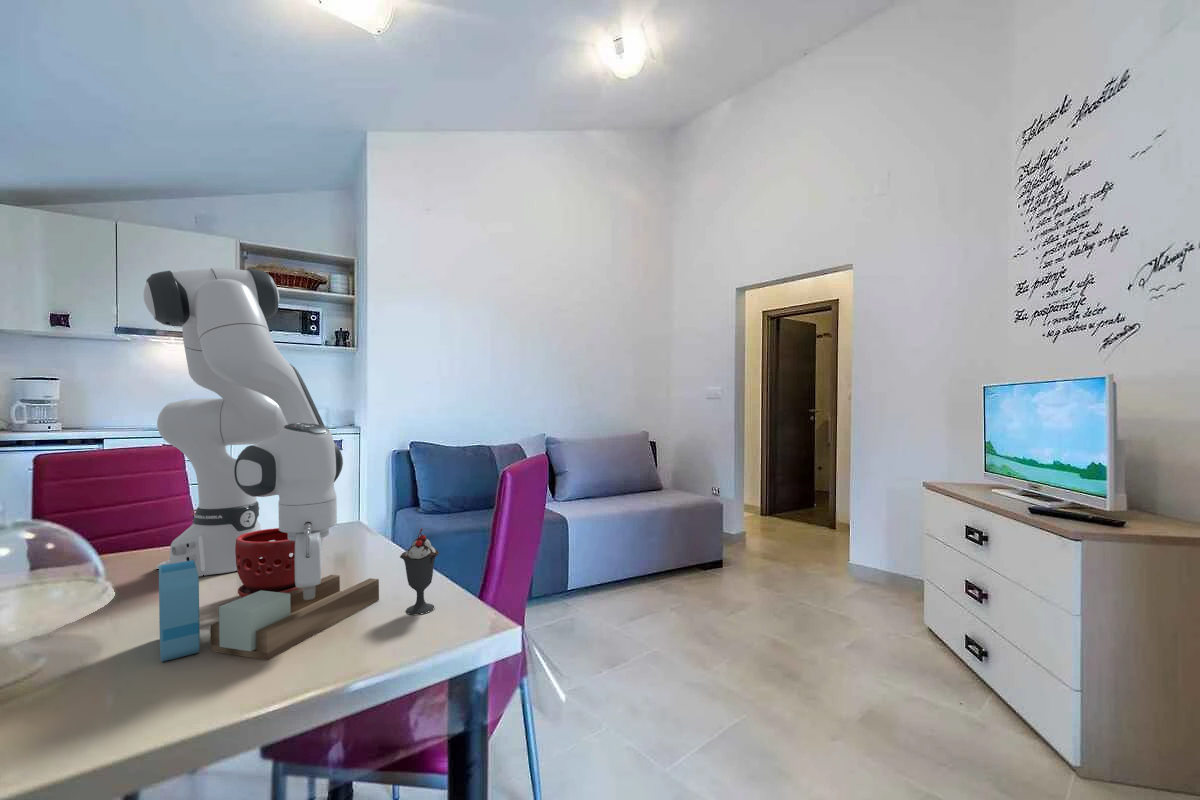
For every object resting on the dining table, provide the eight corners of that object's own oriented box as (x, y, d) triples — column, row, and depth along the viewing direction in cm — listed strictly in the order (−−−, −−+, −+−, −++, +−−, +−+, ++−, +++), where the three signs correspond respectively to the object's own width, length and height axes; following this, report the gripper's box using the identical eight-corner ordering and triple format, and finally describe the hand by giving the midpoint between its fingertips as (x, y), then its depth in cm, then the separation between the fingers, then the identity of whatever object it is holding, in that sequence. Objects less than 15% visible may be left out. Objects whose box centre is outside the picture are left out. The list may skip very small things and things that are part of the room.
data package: (199, 655, 80) (198, 575, 80) (160, 665, 77) (159, 582, 77) (194, 630, 89) (193, 558, 89) (159, 638, 86) (158, 563, 86)
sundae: (419, 619, 91) (418, 532, 91) (392, 612, 95) (391, 528, 95) (447, 606, 97) (446, 524, 97) (421, 600, 100) (420, 520, 100)
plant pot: (256, 611, 96) (255, 545, 96) (223, 598, 103) (222, 536, 103) (326, 589, 107) (326, 530, 107) (292, 578, 114) (291, 522, 114)
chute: (210, 651, 81) (210, 624, 81) (331, 595, 104) (331, 574, 104) (267, 659, 78) (267, 632, 78) (379, 600, 101) (378, 579, 101)
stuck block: (219, 646, 80) (219, 606, 80) (261, 627, 86) (260, 590, 86) (250, 651, 78) (250, 610, 78) (290, 631, 85) (290, 593, 85)
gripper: (329, 527, 85) (331, 614, 85) (327, 505, 103) (328, 576, 103) (283, 532, 82) (285, 622, 82) (290, 508, 100) (291, 582, 100)
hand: (309, 596), depth 92 cm, fingers closed
